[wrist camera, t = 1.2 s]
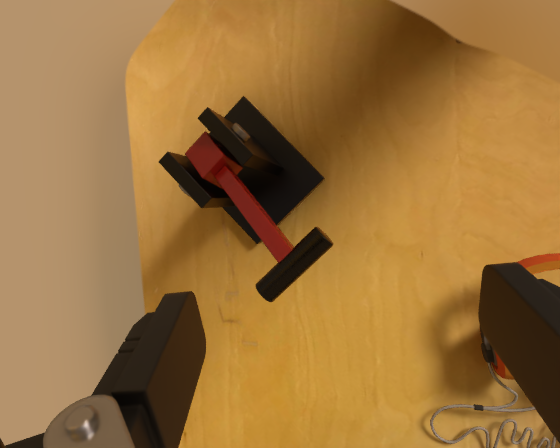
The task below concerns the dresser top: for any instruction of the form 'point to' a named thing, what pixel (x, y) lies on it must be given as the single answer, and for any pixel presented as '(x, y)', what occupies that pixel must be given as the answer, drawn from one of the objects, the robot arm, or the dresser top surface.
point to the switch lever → (257, 218)
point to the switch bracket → (249, 166)
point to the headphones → (533, 266)
